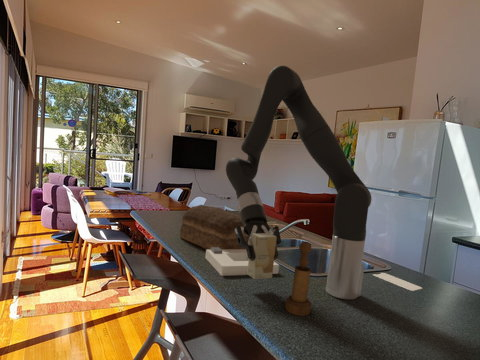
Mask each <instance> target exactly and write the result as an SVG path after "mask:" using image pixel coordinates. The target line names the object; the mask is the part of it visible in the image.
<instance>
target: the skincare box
mask: <svg viewBox="0 0 480 360" xmlns="http://www.w3.org/2000/svg"><path fill="white" fill-rule="evenodd" d="M251 239H252V245H251V246H253V249H254V253H255V259H254V260H253V261H250V259H249V262H248V271H247V274H248V275H247V276H250V277H251V278H252V279H253V280H258V279H259V280H261V279H262V280H263V279H272V278H273V274H272V273H273V265H274V262H275V260H274V256H275V248H276V239H277V237H276V236H274V235H272V234H271V232H269V233H252V238H251Z"/></svg>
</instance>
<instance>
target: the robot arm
mask: <svg viewBox="0 0 480 360" xmlns="http://www.w3.org/2000/svg"><path fill="white" fill-rule="evenodd" d="M262 92H263V93H262V96H261V99H260V102H259V104H258V107H257V109H256V110H257V111H256V113H255V116H254V117H253V121H252V123H251V125H250V127H249V129H248V131H247V133H246V136H245V138H244V139H243V142H242V144H241V146H240V147H241V148H240V149H241V151H242V152H243V153H245V154H246V155H247V159H243V158H240V157H232V158H230V159H229V160H228V161H227V162H226V165H225V174H226V176H227V178H228V180H229V181H228V182H230V184H231V186H232V188H233V189H234V191H235V194H236V199H237V204H238V211H239V215H240V218H241V220H242V224H243V227H240V226H239V225H238V226H237V227H236V228H235V230H234V233H235V236H236V239H237V242H238V245H239V247H241V248H242V247H244V248H245V249H246V251H247V255H248V258H249V259H250V261H253V260H254V259H255V253H254V249H253V246H251V245H252V239H251V238H252V233H270V234H272V235H274V236H276V237H277V239H276V248H275V256H274V261H276V260H277V259H278V257H279V252H278V247H279V246H280V244H281V243H282V240H281V239H282V237H281V234H280V228H279V226H278V225H275V226H270V225H269V224H268V220H267V219H268V218H267V214H266V211H265V208H264V204H263V201H262V199H261V196H260V194H259V190H258V189H259V188H258V186H257V184H256V182H255V181H254V179H255V178H256V176H257V174H258V170H259V165H260V160H261V155H262V152H263V151H264V149H265V147H266V145H267V143H268V141H269V138H270V135H271V132H272V129H273V128H272V127H273V123H274V120H275V116H276V114H277V113H276V112H277V110H278V109H279V106H280V105H281V103H282V102H283V104H285V105H286V107H287V109H288V110H289V111H290V113H291V115H292V117H293V119H294V122H295V126H296V131H297V132H298V136H299V138H300V140H301V142H302V143H303V146H304V147H305V149H306V150H307V152H308V154H309V155H310V157H311V158H312V159H313V161H314V162H315V163H316V164H317V165H318V166H319V167H320V168H321V169H322V171H323V172H324V173H326V176H327V177H329V179H330V181H331V182H332V184H333V187H334V188H335V191H336V197H335V202H334V209H333V220H332V227H333V230H332V231H333V232H332V238H331V239H332V241H331V246H330V247H331V249H330V254H329V256H330V257H329V263H328V271H327V277H326V286H325V291H326V293H327V294H328V295H330V296H332V297H334V298H338V299H342V300H355V299H357V298H359V297H361V294H362V286H363V279H364V271H365V264H363V258H364V250H365V246H366V244H365V243H366V237H367V221H368V215H369V214H368V213H369V208H370V206H371V203H372V194H371V192H370V189H368V187H367V186H366V184H365V183H364V182H363V181H362V180H361V178H360V177H359V176H358V174H357V173H356V171H355V170H354V169H353V168H352V167H353V166H351V165H350V163H349V161H348V158H347V156H346V154H345V152H344V150H343V148H342V146H341V145H340V143H339V141H338V139H337V137H336V136H335V134H334V132H333V131H332V129H331V128H330V126H329V124H328V122H327V121H326V120H325V118H324V117H323V115H322V114H321V112H320V111H319V110H318V108H316V106H315V105H314V103H313V102H312V100H311V98H310V96H309V94H308V91H307V90H306V88H305V85H304V83H303V81H302V79H301V77H300V75H299V74H298V72H296V71H294V70H293V69H292V68H290V67H288V66H286V65H277V66H275V67H274V68H273V69H271V71H270V72H269V74H268V75H267V78H266V83H265V85H264V88H263V91H262ZM243 231H244V232H245V233H246V234H247V235H248V238H247V241H245V239H244V236H243Z"/></svg>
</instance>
